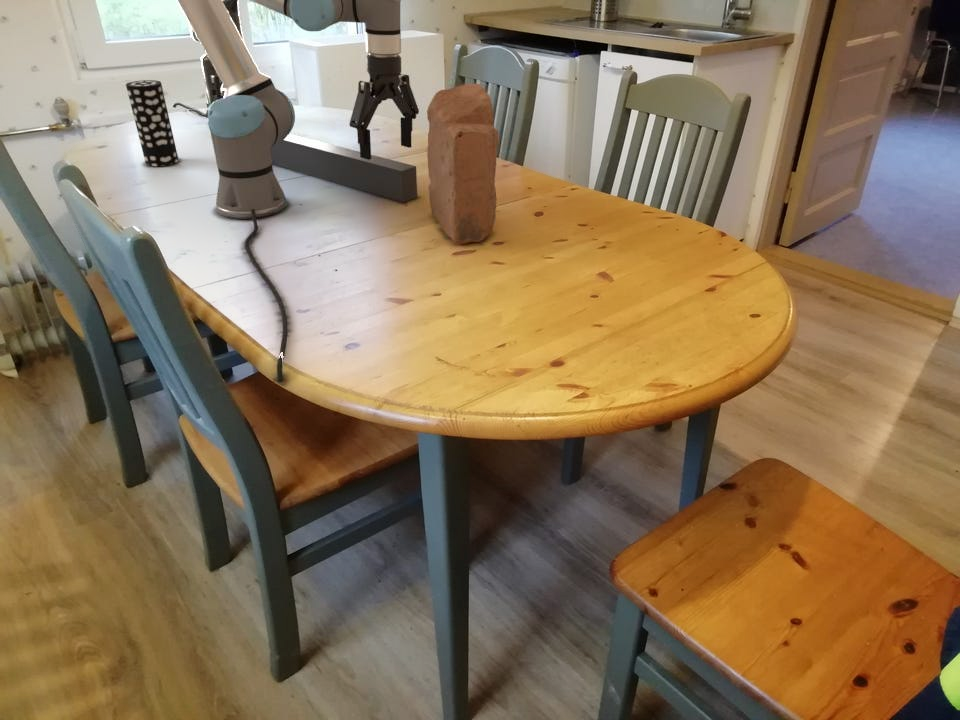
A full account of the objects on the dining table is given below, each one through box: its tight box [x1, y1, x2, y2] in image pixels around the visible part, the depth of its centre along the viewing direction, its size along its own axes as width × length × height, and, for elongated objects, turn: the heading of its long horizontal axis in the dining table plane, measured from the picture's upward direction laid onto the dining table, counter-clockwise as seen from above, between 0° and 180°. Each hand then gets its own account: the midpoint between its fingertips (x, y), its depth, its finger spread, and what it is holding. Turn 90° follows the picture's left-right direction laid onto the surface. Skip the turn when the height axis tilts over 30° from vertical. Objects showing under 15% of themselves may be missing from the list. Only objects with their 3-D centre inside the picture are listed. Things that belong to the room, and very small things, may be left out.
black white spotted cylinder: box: [125, 79, 179, 167], centre depth 181 cm, size 8×8×20 cm
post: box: [270, 133, 418, 203], centre depth 179 cm, size 68×5×8 cm, turn 53°
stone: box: [426, 83, 500, 245], centre depth 142 cm, size 22×11×28 cm, turn 18°
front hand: (386, 152), depth 161 cm, fingers open, 13 cm apart
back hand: (240, 111), depth 189 cm, fingers open, 8 cm apart
